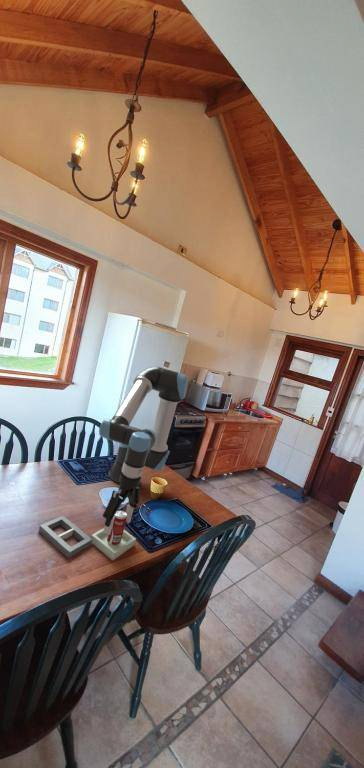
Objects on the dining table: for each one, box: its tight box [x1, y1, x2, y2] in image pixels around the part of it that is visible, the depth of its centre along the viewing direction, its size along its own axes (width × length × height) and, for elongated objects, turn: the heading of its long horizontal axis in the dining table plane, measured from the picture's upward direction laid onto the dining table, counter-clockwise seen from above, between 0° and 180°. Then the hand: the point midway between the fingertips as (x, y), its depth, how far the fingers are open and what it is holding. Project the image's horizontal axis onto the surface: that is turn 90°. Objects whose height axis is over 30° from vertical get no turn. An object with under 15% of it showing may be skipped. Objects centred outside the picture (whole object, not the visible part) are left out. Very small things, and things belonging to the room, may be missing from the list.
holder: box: [38, 515, 92, 559], centre depth 113 cm, size 17×10×2 cm, turn 59°
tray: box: [90, 527, 137, 561], centre depth 117 cm, size 12×12×3 cm
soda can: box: [107, 509, 127, 546], centre depth 117 cm, size 5×5×12 cm
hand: (117, 526), depth 116 cm, fingers open, 10 cm apart
